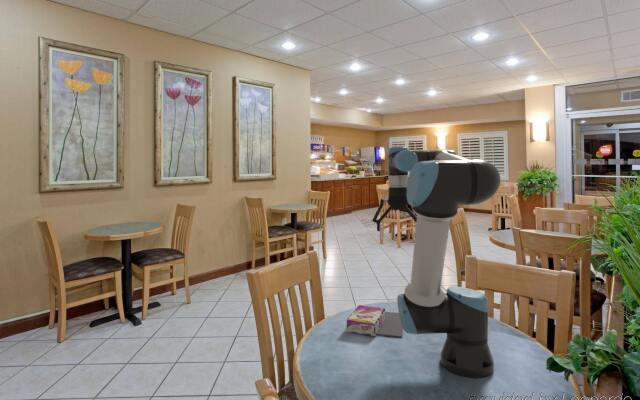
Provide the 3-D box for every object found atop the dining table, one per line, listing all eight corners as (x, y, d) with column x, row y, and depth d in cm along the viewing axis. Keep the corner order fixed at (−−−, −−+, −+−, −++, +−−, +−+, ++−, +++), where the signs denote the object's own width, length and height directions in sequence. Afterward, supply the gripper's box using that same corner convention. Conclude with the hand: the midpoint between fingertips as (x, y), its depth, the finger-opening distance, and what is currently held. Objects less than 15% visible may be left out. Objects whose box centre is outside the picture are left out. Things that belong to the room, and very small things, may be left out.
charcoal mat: (404, 314, 151) (404, 313, 151) (402, 337, 130) (402, 336, 130) (363, 311, 156) (363, 310, 156) (355, 333, 135) (355, 331, 135)
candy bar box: (385, 307, 145) (375, 323, 130) (385, 319, 145) (375, 337, 130) (358, 303, 149) (346, 319, 134) (358, 315, 149) (346, 332, 134)
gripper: (430, 186, 143) (430, 239, 144) (367, 186, 149) (368, 237, 151) (431, 186, 135) (431, 242, 137) (365, 187, 142) (365, 240, 143)
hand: (398, 240), depth 144 cm, fingers open, 13 cm apart
